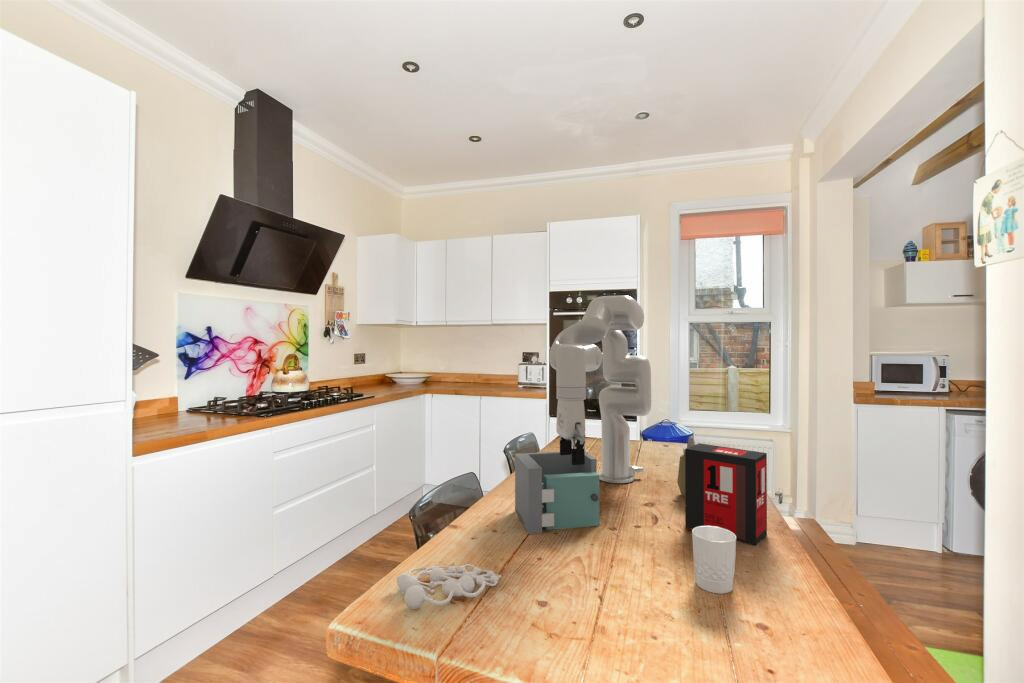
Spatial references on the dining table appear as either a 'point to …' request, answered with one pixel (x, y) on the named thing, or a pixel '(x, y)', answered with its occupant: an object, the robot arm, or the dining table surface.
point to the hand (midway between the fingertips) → (571, 459)
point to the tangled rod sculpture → (443, 584)
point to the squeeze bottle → (683, 468)
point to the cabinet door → (573, 499)
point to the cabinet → (541, 485)
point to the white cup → (714, 558)
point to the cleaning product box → (727, 490)
